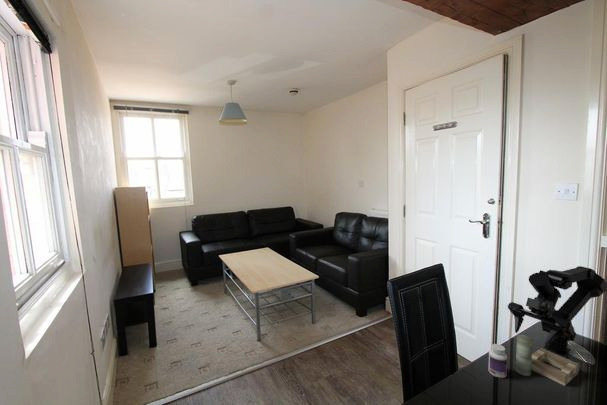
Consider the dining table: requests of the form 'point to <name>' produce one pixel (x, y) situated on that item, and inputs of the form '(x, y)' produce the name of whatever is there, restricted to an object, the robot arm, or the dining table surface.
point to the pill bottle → (497, 361)
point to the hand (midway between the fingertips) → (530, 338)
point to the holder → (560, 376)
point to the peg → (524, 355)
